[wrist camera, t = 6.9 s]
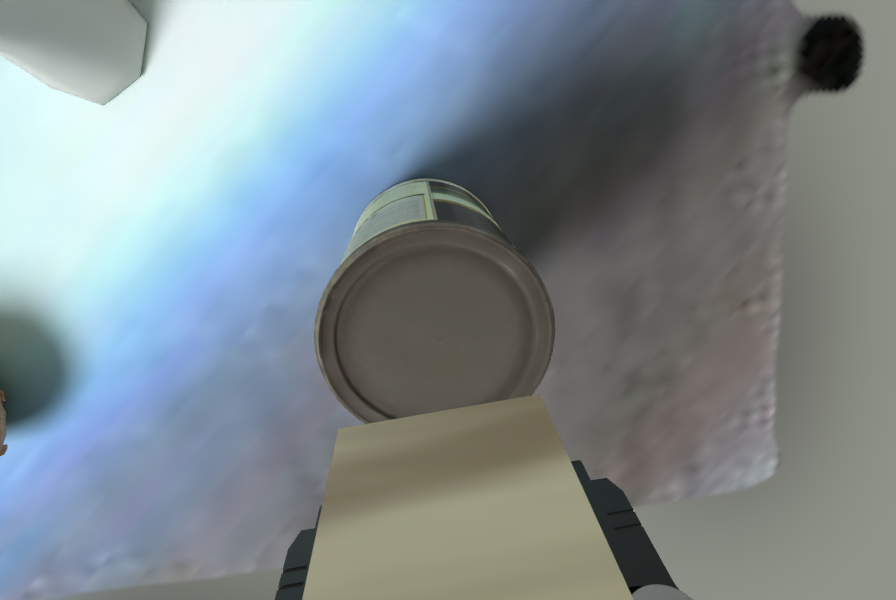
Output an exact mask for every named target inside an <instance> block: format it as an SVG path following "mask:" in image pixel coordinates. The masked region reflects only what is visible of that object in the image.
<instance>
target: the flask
mask: <svg viewBox="0 0 896 600" xmlns="http://www.w3.org/2000/svg"><path fill="white" fill-rule="evenodd" d="M147 25H148V24H147V23H146V21H145V20H144V19H143V18H142V16H141V15H140V14H139V13H138V11H137V10H136V9H135V7H134V6H133V5H132V4H131V2H130V1H129V0H0V55H1V56H2V57H4V58H6V59H7V60H9V61H11V62H12V63H14V64H16V65H17V66H19V67H20V68H22V69H23V70H25V71H26V72H28V73H29V74H31V75H32V76H34V77H35V78H37V79H38V80H40V81H41V82H42V83H44V84H46V85H47V86H49V87H51V88H53V89H56V90H59V91H62V92H65V93H68V94H71V95H74V96H77V97H80V98H83V99H86V100H89V101H92V102H95V103H98V104H101V105H105V104H106V103H108V102H109V101H110V100H111V99H113V98H114V97H115V96H116V95H118V94H119V93H120V92H121V91H123V90H124V89H125V88H126V87H128V86H129V85H130V84H131V83H133V82H134V81H135V80H136V79H137V78H139V77H140V74H141V67H142V60H143V53H144V46H145V39H146V32H147Z"/></svg>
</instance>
